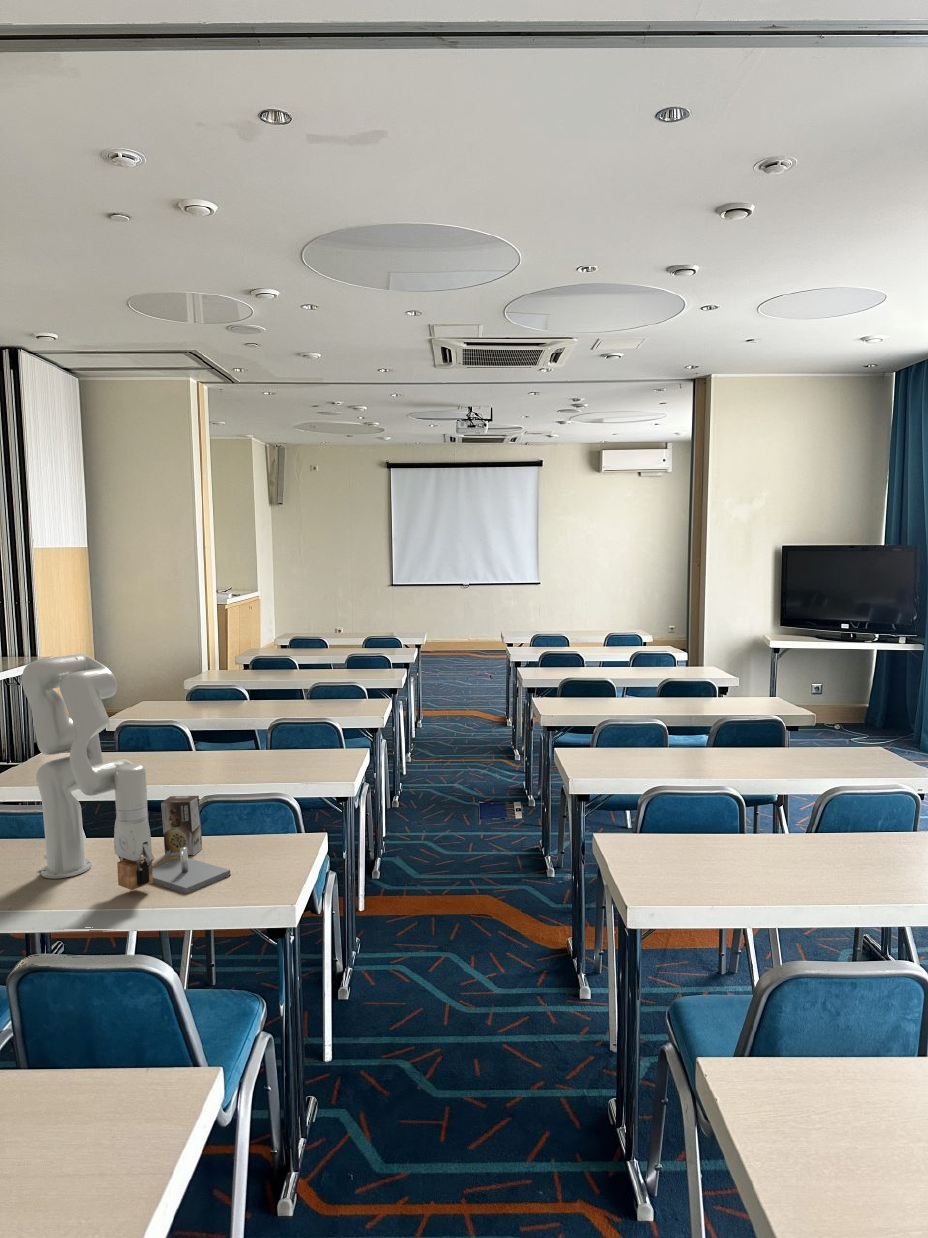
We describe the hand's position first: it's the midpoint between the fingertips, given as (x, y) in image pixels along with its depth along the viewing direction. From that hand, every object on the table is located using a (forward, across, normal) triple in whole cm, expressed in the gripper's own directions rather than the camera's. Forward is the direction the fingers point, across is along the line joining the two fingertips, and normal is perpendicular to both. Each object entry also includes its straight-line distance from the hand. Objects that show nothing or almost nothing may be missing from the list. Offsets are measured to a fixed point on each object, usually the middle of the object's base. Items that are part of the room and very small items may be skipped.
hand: (135, 880), depth 213 cm
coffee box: (+4, -14, +25) cm, 29 cm away
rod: (+1, +3, +13) cm, 13 cm away
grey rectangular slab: (+3, +3, +13) cm, 14 cm away
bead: (+1, 0, 0) cm, 1 cm away
